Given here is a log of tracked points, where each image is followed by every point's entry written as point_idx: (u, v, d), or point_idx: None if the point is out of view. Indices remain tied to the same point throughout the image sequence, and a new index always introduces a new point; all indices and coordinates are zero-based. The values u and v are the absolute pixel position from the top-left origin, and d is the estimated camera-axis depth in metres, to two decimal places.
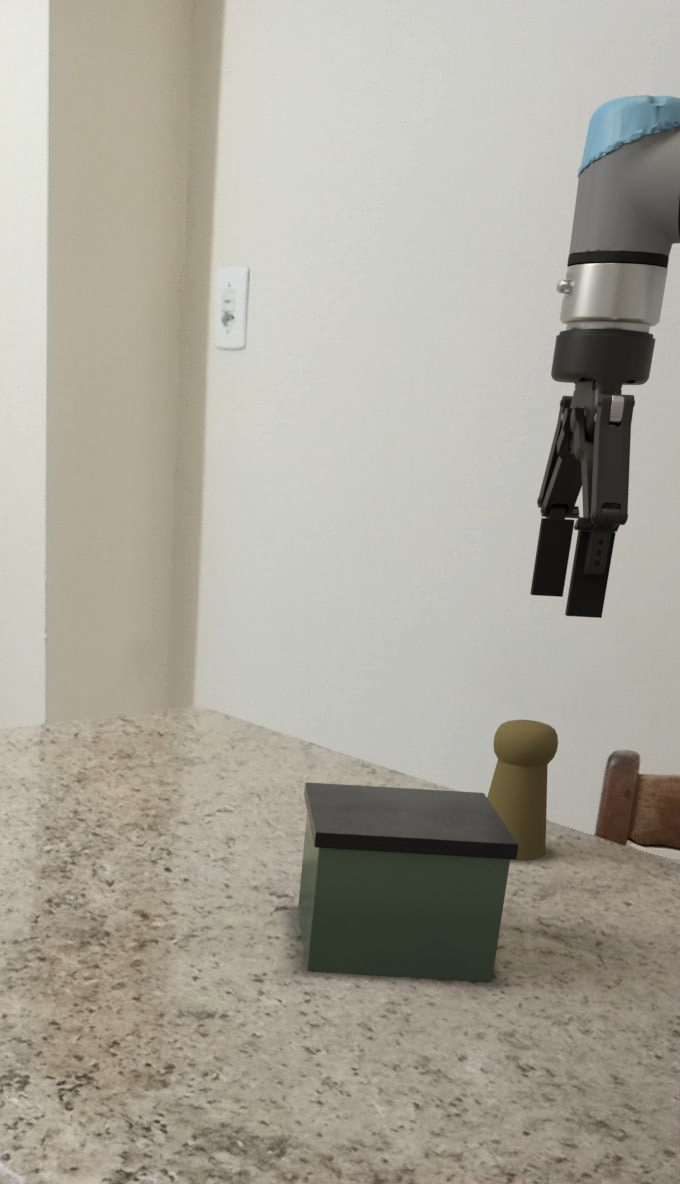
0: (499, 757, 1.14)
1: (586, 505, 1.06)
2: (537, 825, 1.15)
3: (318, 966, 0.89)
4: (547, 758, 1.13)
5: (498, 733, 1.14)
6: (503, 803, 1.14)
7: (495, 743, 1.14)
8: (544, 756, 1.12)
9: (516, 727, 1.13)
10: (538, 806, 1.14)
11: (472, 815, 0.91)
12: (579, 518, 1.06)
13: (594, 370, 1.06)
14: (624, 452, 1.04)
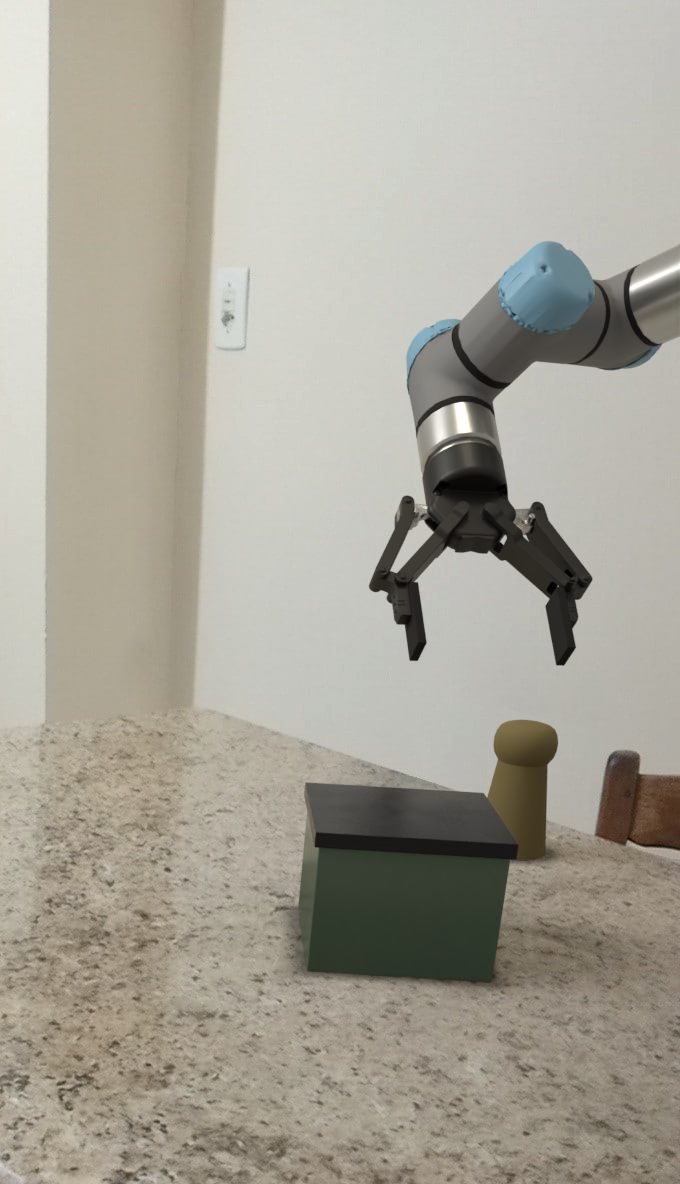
0: (499, 757, 1.14)
1: None
2: (537, 825, 1.15)
3: (318, 966, 0.89)
4: (547, 758, 1.13)
5: (498, 733, 1.14)
6: (503, 803, 1.14)
7: (495, 743, 1.14)
8: (544, 756, 1.12)
9: (516, 727, 1.13)
10: (538, 806, 1.14)
11: (472, 815, 0.91)
12: (387, 595, 1.26)
13: None
14: None
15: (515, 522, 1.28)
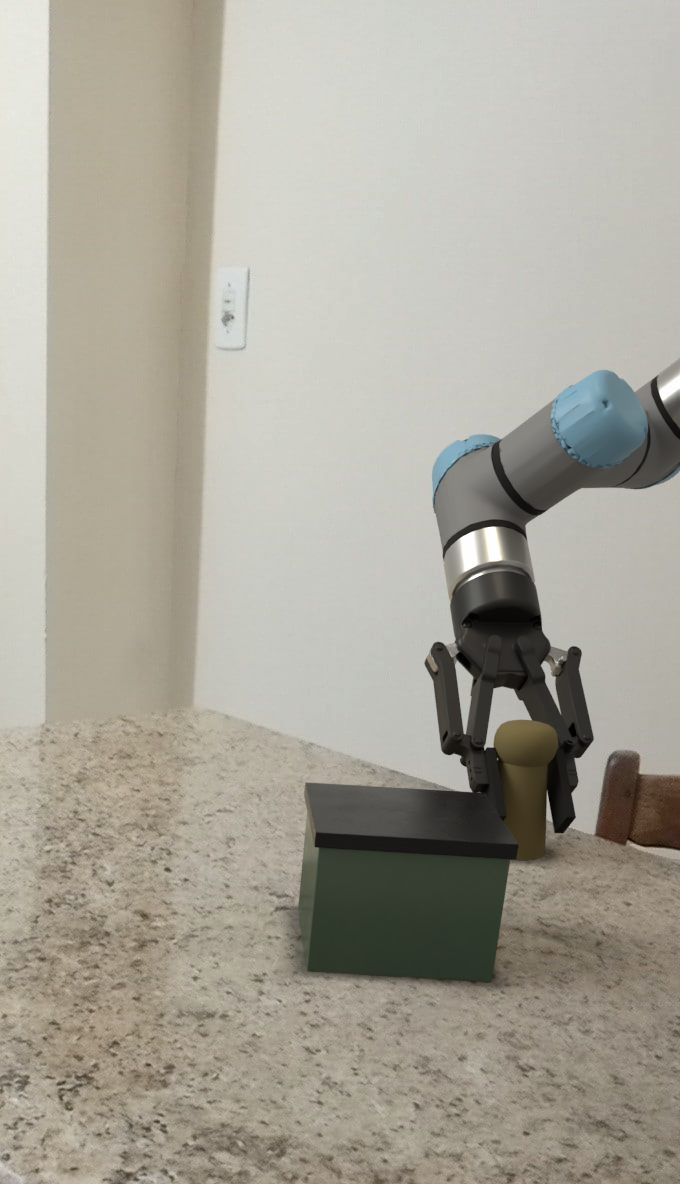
0: (499, 757, 1.14)
1: None
2: (537, 825, 1.15)
3: (318, 966, 0.89)
4: (547, 758, 1.13)
5: (498, 733, 1.14)
6: None
7: (495, 743, 1.14)
8: (544, 756, 1.12)
9: (516, 727, 1.13)
10: (538, 806, 1.14)
11: (472, 815, 0.91)
12: (460, 759, 1.17)
13: None
14: (442, 688, 1.17)
15: (547, 660, 1.20)
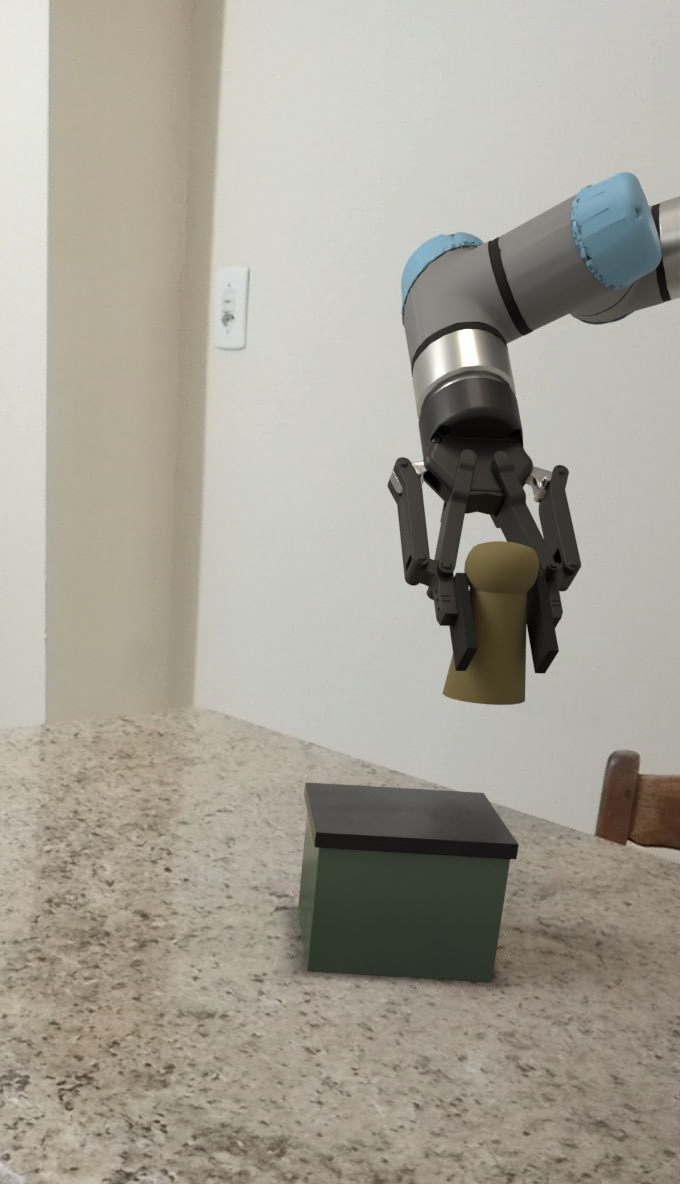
0: (471, 584, 0.98)
1: None
2: (515, 664, 0.99)
3: (318, 966, 0.89)
4: (525, 583, 0.97)
5: (470, 555, 0.98)
6: None
7: (466, 567, 0.98)
8: (522, 580, 0.97)
9: (490, 546, 0.97)
10: (516, 642, 0.98)
11: (472, 815, 0.91)
12: None
13: (422, 451, 1.06)
14: (406, 508, 1.01)
15: (529, 482, 1.04)
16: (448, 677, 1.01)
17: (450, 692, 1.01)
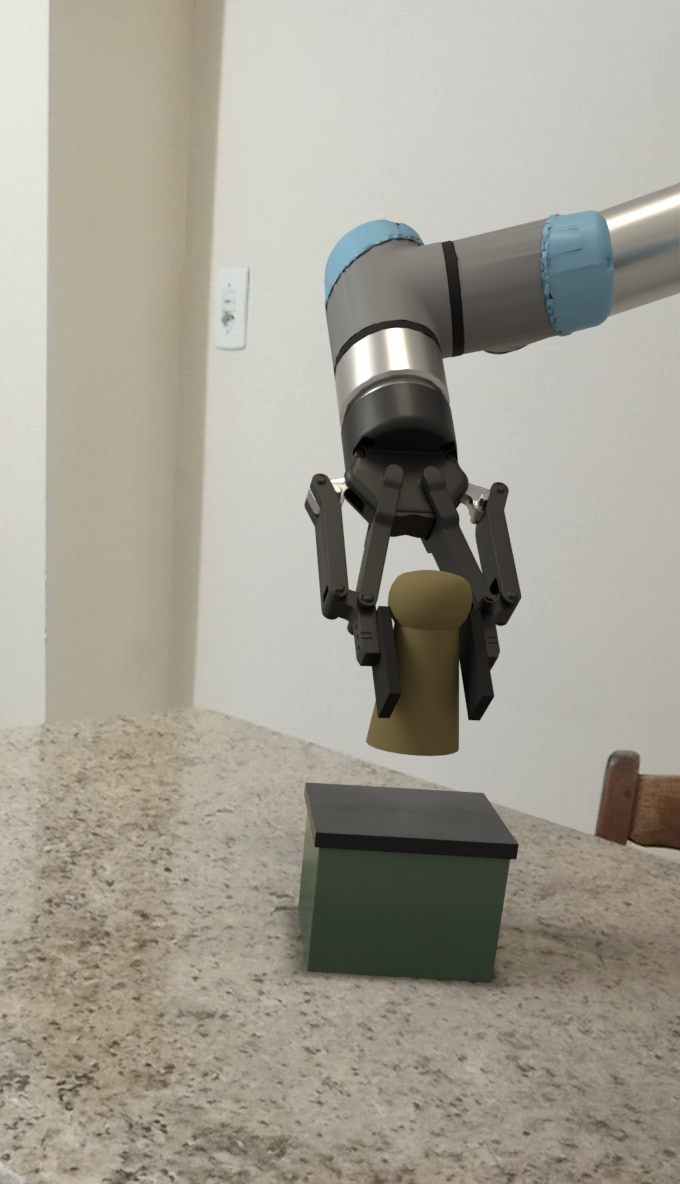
0: (395, 619, 0.86)
1: None
2: (446, 709, 0.87)
3: (318, 966, 0.89)
4: (456, 618, 0.85)
5: (393, 586, 0.86)
6: (400, 680, 0.86)
7: (390, 599, 0.86)
8: (452, 615, 0.85)
9: (415, 576, 0.85)
10: (447, 684, 0.86)
11: (472, 815, 0.91)
12: (347, 626, 0.89)
13: None
14: (323, 532, 0.89)
15: (465, 501, 0.92)
16: (371, 723, 0.89)
17: (373, 741, 0.89)
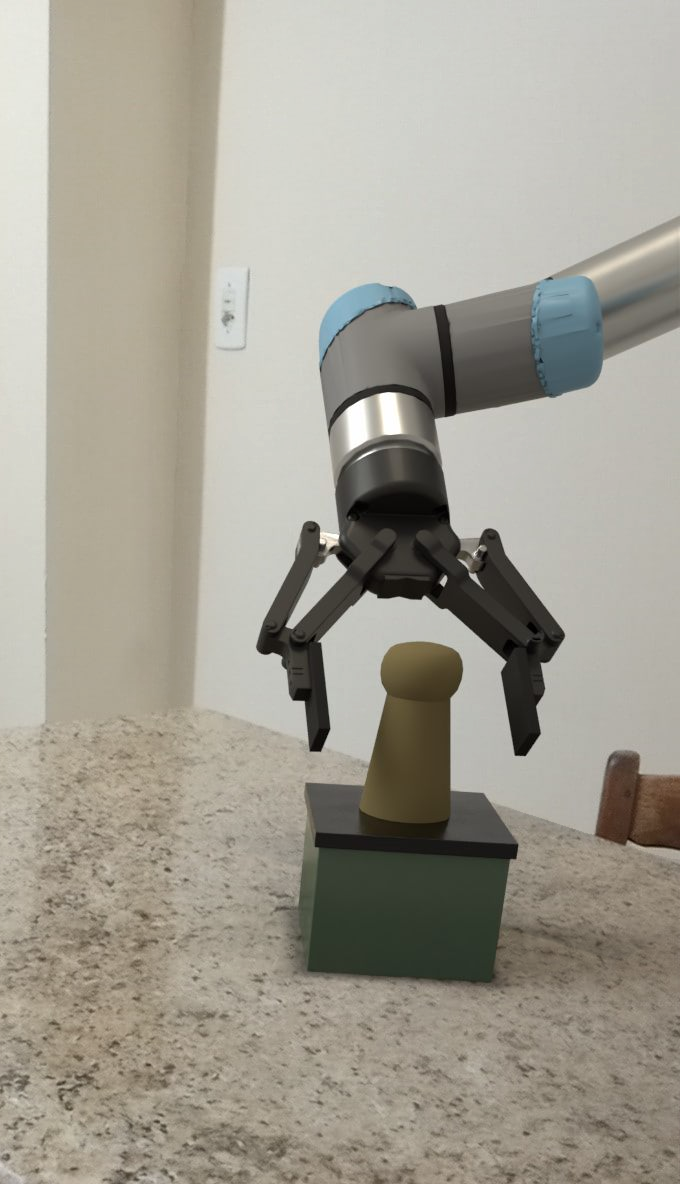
0: (387, 690, 0.88)
1: None
2: (437, 778, 0.88)
3: (318, 966, 0.89)
4: (447, 690, 0.86)
5: (385, 658, 0.87)
6: (392, 749, 0.88)
7: (382, 671, 0.88)
8: (443, 687, 0.86)
9: (407, 649, 0.86)
10: (438, 754, 0.88)
11: (472, 815, 0.91)
12: (282, 658, 0.91)
13: None
14: None
15: (460, 556, 0.94)
16: (365, 790, 0.91)
17: (366, 807, 0.90)
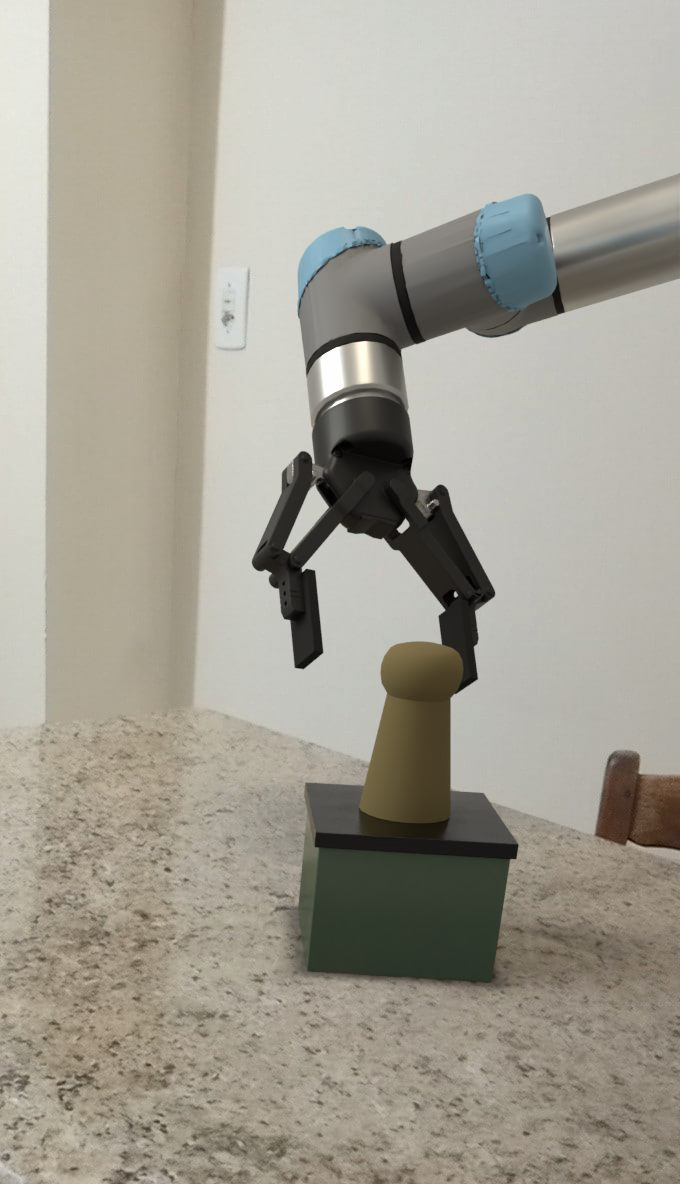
0: (387, 690, 0.88)
1: None
2: (437, 778, 0.88)
3: (318, 966, 0.89)
4: (447, 690, 0.86)
5: (386, 658, 0.87)
6: (392, 749, 0.88)
7: (382, 671, 0.88)
8: (443, 687, 0.86)
9: (407, 649, 0.86)
10: (438, 754, 0.88)
11: (472, 815, 0.91)
12: None
13: (315, 458, 1.05)
14: (286, 498, 1.00)
15: None
16: (365, 790, 0.91)
17: (367, 807, 0.90)
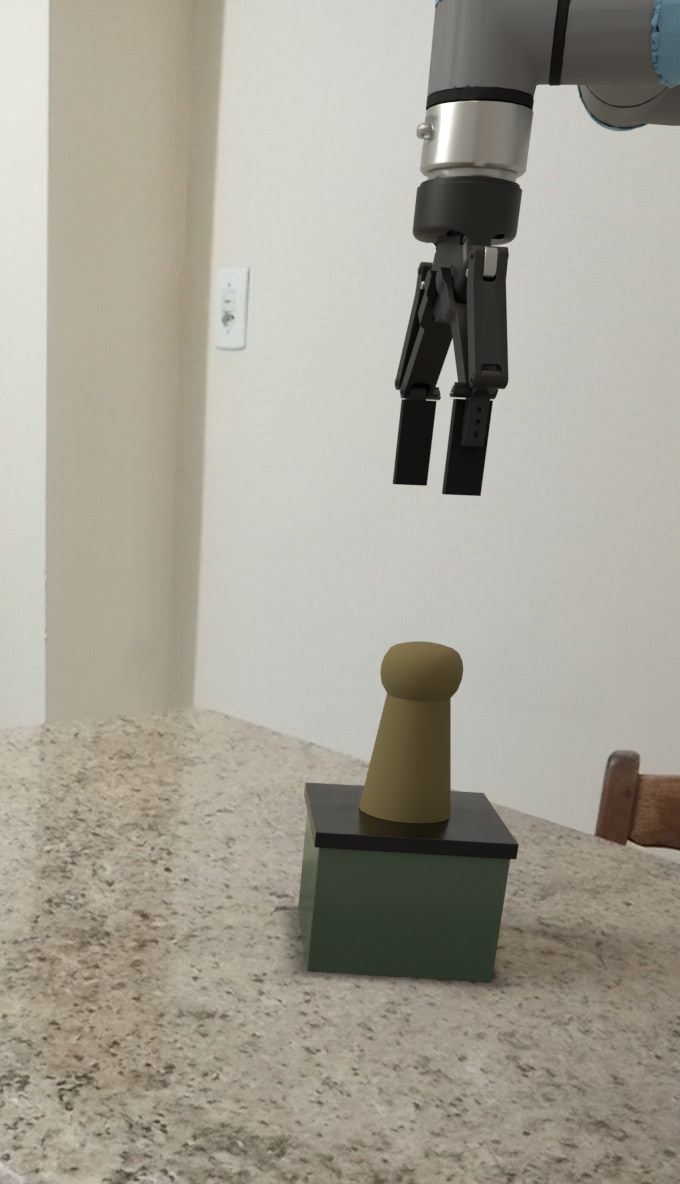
0: (387, 690, 0.88)
1: (461, 370, 0.98)
2: (437, 778, 0.88)
3: (318, 966, 0.89)
4: (447, 690, 0.86)
5: (386, 658, 0.87)
6: (392, 749, 0.88)
7: (382, 671, 0.88)
8: (443, 687, 0.86)
9: (407, 649, 0.86)
10: (438, 754, 0.88)
11: (472, 815, 0.91)
12: (456, 383, 0.97)
13: (462, 222, 0.97)
14: (500, 309, 0.96)
15: None
16: (365, 790, 0.91)
17: (366, 807, 0.90)
